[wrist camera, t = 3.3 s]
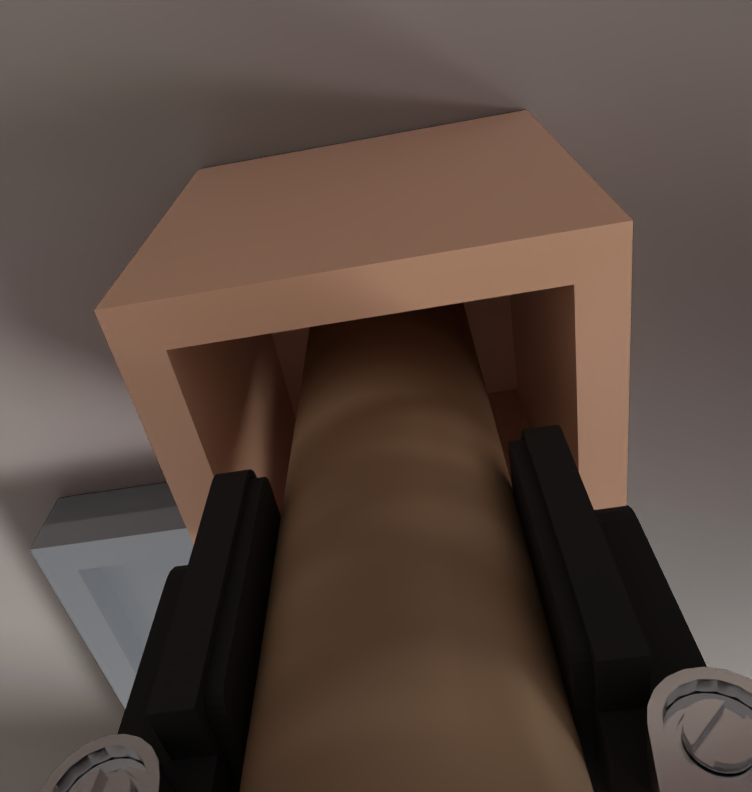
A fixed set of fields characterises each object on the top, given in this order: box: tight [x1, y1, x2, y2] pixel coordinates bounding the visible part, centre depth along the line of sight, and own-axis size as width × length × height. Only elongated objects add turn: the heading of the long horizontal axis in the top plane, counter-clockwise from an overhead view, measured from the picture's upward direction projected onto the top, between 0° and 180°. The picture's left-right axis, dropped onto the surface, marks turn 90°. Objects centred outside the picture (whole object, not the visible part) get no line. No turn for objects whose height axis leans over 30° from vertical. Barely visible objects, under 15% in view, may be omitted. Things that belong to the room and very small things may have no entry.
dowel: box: [239, 302, 594, 792], centre depth 12 cm, size 4×4×14 cm
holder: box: [94, 110, 633, 544], centre depth 15 cm, size 8×8×8 cm
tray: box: [30, 482, 194, 709], centre depth 24 cm, size 12×12×2 cm
